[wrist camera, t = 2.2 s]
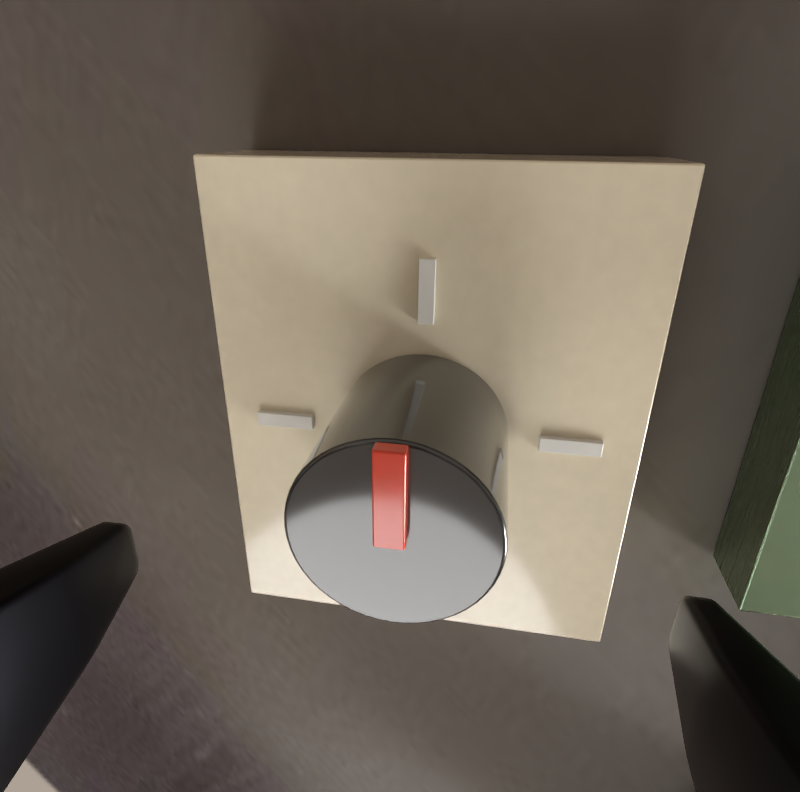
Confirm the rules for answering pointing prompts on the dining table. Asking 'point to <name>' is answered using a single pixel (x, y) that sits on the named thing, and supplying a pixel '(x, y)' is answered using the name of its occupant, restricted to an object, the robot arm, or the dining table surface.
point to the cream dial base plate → (453, 334)
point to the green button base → (769, 494)
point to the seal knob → (406, 493)
